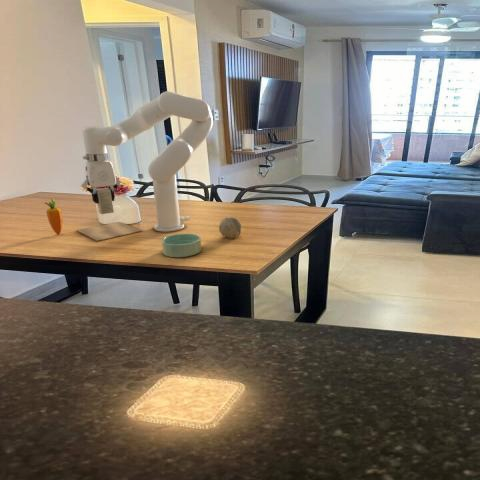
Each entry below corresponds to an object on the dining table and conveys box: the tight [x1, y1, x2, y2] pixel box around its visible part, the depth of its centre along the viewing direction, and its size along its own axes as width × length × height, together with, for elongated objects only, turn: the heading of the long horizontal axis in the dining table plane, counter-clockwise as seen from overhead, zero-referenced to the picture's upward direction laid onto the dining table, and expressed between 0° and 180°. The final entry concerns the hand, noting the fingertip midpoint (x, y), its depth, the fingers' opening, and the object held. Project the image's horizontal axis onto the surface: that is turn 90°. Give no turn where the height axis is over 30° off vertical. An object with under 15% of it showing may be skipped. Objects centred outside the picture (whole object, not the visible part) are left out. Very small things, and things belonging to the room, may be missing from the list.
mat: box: [76, 221, 142, 242], centre depth 164 cm, size 18×20×1 cm
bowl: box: [161, 233, 202, 258], centre depth 142 cm, size 14×14×5 cm
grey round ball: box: [218, 216, 243, 240], centre depth 159 cm, size 9×8×10 cm
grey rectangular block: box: [96, 187, 115, 215], centre depth 160 cm, size 5×4×10 cm
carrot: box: [44, 198, 63, 236], centre depth 156 cm, size 5×5×15 cm
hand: (104, 201), depth 160 cm, fingers closed on grey rectangular block, 5 cm apart
